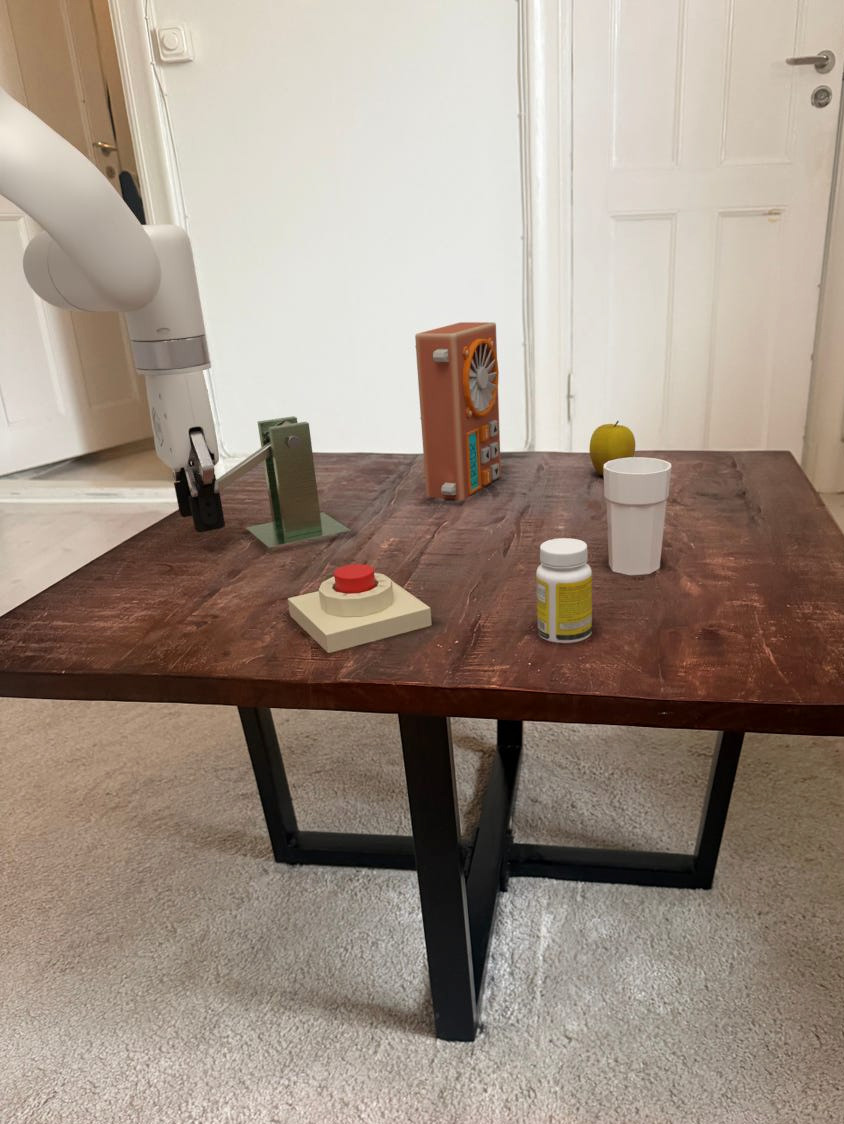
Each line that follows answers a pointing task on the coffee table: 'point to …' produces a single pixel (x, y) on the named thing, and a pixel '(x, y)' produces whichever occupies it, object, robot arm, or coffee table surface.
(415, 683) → the coffee table surface
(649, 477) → the cup
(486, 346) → the control panel
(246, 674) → the coffee table surface
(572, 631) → the supplement bottle
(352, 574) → the button
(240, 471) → the lever
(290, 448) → the bracket
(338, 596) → the button block
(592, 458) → the apple
